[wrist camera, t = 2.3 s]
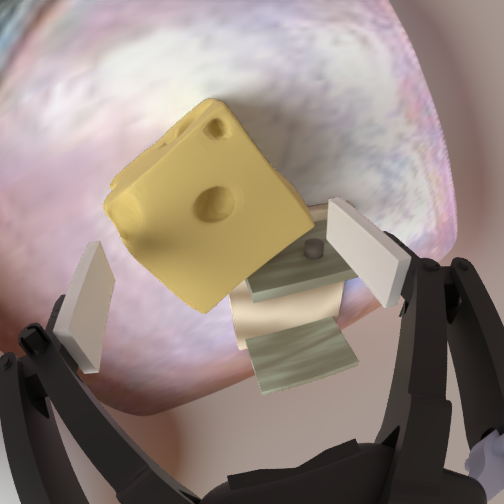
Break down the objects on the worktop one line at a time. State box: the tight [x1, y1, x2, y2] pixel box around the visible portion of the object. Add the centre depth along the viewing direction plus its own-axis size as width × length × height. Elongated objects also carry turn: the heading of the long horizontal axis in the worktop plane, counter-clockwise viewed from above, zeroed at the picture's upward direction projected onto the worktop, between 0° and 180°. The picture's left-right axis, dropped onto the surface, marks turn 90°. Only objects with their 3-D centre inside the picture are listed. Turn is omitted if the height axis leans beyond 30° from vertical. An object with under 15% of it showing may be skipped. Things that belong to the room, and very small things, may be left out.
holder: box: [228, 201, 359, 396], centre depth 29 cm, size 18×14×10 cm
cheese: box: [103, 98, 315, 314], centre depth 20 cm, size 10×11×10 cm
